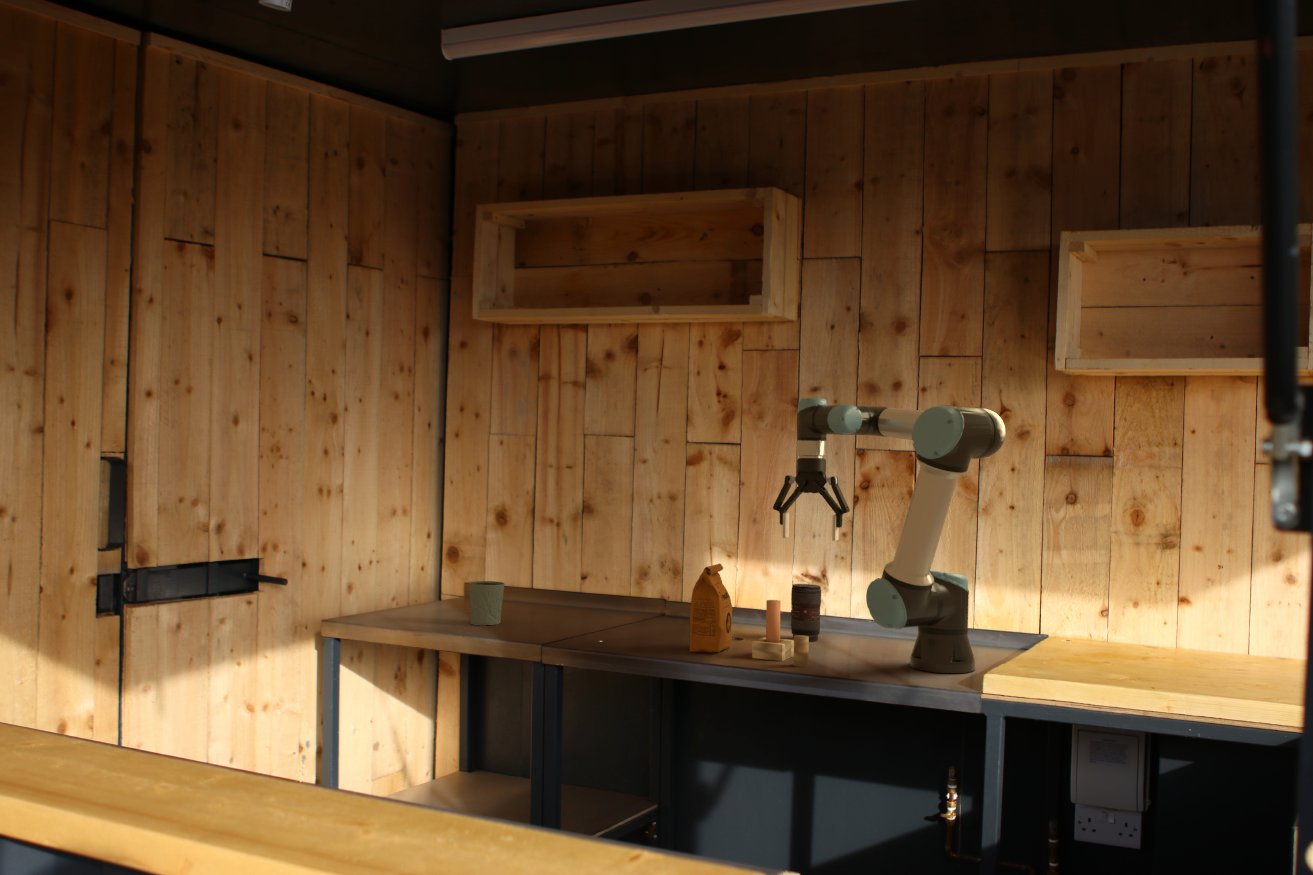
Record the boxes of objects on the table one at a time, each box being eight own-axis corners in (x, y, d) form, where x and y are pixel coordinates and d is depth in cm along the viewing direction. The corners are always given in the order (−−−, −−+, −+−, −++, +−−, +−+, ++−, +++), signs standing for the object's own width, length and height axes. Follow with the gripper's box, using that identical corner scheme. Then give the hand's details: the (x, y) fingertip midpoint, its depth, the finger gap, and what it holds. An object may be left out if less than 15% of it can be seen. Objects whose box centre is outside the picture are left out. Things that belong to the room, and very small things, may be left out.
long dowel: (781, 656, 279) (782, 600, 280) (776, 658, 276) (777, 601, 276) (768, 655, 281) (769, 599, 281) (763, 657, 278) (764, 600, 278)
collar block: (793, 656, 280) (793, 640, 280) (782, 660, 273) (782, 644, 273) (764, 652, 284) (764, 637, 284) (752, 657, 277) (752, 641, 277)
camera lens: (819, 642, 300) (820, 587, 300) (789, 641, 302) (790, 586, 302) (821, 638, 308) (822, 583, 308) (792, 636, 310) (792, 582, 310)
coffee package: (738, 648, 290) (739, 563, 290) (719, 656, 278) (721, 568, 279) (702, 645, 294) (704, 561, 294) (683, 652, 283) (684, 565, 283)
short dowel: (810, 665, 268) (810, 636, 268) (805, 667, 265) (805, 638, 265) (796, 663, 270) (797, 634, 270) (791, 666, 267) (791, 636, 267)
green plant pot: (463, 622, 326) (463, 581, 326) (494, 620, 331) (495, 579, 331) (477, 627, 317) (478, 585, 317) (509, 624, 323) (510, 583, 323)
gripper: (862, 458, 288) (861, 540, 288) (772, 456, 300) (771, 535, 299) (853, 458, 281) (852, 542, 281) (761, 456, 293) (760, 537, 293)
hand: (810, 539), depth 290 cm, fingers open, 13 cm apart
